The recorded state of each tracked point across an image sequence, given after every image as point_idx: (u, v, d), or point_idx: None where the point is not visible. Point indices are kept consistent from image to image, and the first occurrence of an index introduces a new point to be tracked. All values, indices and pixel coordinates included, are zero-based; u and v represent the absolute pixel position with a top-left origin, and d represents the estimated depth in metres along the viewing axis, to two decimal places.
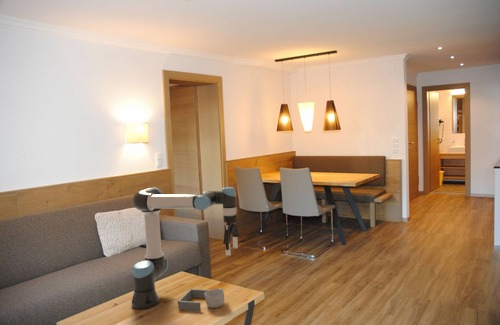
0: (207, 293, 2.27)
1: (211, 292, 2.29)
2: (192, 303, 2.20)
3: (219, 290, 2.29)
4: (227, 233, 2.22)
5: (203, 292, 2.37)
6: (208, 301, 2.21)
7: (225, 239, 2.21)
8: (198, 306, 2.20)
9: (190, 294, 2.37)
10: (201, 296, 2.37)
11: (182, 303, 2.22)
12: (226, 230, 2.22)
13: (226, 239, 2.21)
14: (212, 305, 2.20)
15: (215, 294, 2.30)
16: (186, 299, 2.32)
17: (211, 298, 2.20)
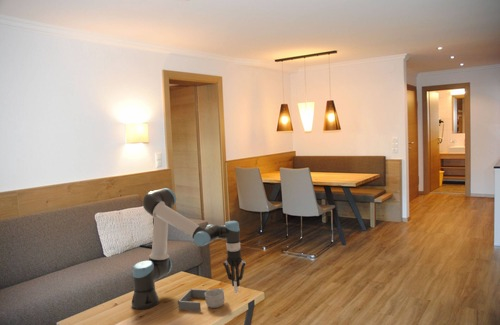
0: (207, 293, 2.27)
1: (211, 292, 2.29)
2: (192, 303, 2.20)
3: (219, 290, 2.29)
4: None
5: (203, 292, 2.37)
6: (208, 301, 2.21)
7: None
8: (198, 306, 2.20)
9: (190, 294, 2.37)
10: (201, 296, 2.37)
11: (182, 303, 2.22)
12: None
13: None
14: (212, 305, 2.20)
15: (215, 294, 2.30)
16: (186, 299, 2.32)
17: (211, 298, 2.20)
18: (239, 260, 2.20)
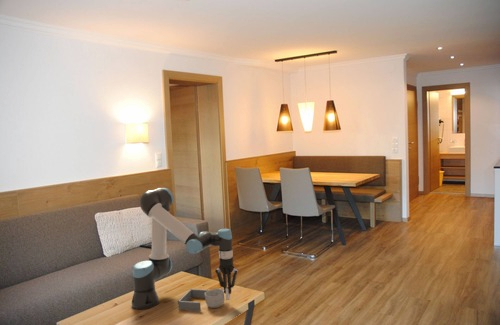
0: (207, 293, 2.27)
1: (211, 292, 2.29)
2: (192, 303, 2.20)
3: (219, 290, 2.29)
4: None
5: (203, 292, 2.37)
6: (208, 301, 2.21)
7: None
8: (198, 306, 2.20)
9: (190, 294, 2.37)
10: (201, 296, 2.37)
11: (182, 303, 2.22)
12: None
13: None
14: (212, 305, 2.20)
15: (215, 294, 2.30)
16: (186, 299, 2.32)
17: (211, 298, 2.20)
18: (231, 268, 2.21)
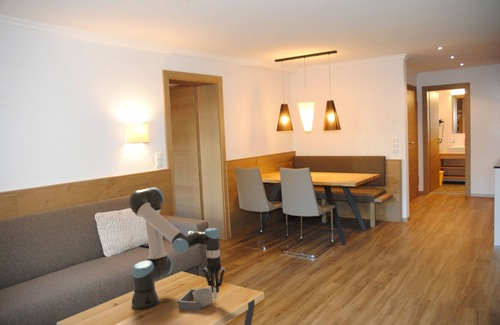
0: (196, 292, 2.29)
1: (200, 291, 2.31)
2: (192, 303, 2.20)
3: (208, 289, 2.31)
4: None
5: None
6: (196, 300, 2.23)
7: None
8: (198, 306, 2.20)
9: (190, 294, 2.37)
10: None
11: (182, 303, 2.22)
12: None
13: None
14: (200, 304, 2.22)
15: (204, 293, 2.32)
16: (186, 299, 2.32)
17: (199, 297, 2.22)
18: (218, 267, 2.23)
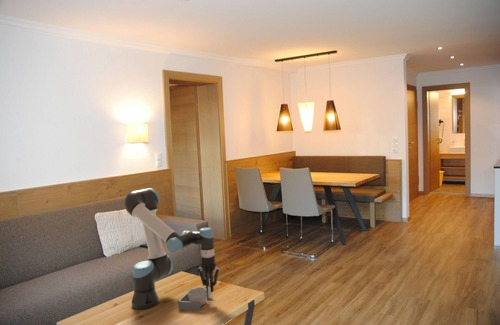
0: (190, 292, 2.30)
1: (195, 291, 2.32)
2: (192, 303, 2.20)
3: (202, 289, 2.31)
4: None
5: None
6: (190, 299, 2.24)
7: None
8: (198, 306, 2.20)
9: None
10: None
11: (182, 303, 2.22)
12: None
13: None
14: None
15: (199, 293, 2.32)
16: (186, 299, 2.32)
17: (193, 296, 2.22)
18: (213, 266, 2.24)
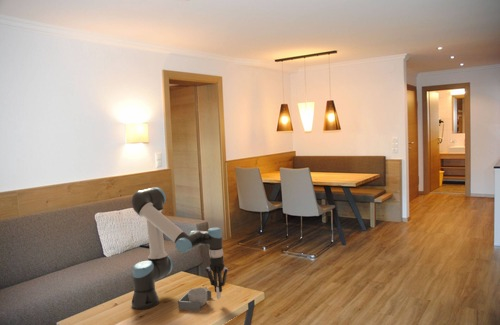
0: (191, 292, 2.30)
1: (195, 291, 2.32)
2: (192, 303, 2.20)
3: (203, 289, 2.31)
4: None
5: None
6: (191, 300, 2.24)
7: None
8: (198, 306, 2.20)
9: None
10: None
11: (182, 303, 2.22)
12: None
13: None
14: None
15: (199, 293, 2.32)
16: (186, 299, 2.32)
17: (193, 297, 2.22)
18: (221, 266, 2.22)
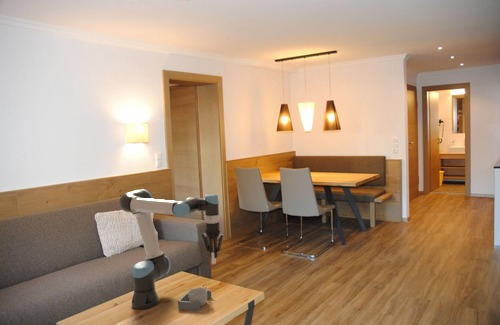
0: (191, 292, 2.30)
1: (195, 291, 2.32)
2: (192, 303, 2.20)
3: (203, 289, 2.31)
4: None
5: None
6: (191, 300, 2.24)
7: None
8: (198, 306, 2.20)
9: None
10: None
11: (182, 303, 2.22)
12: None
13: None
14: None
15: (199, 293, 2.32)
16: (186, 299, 2.32)
17: (193, 297, 2.22)
18: (217, 232, 2.25)
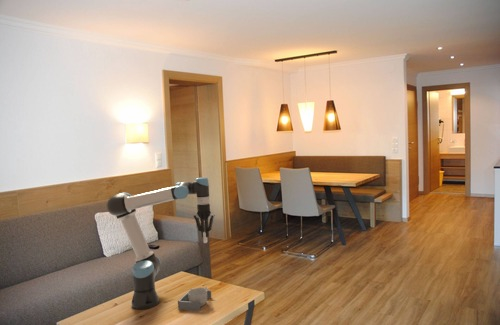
0: (191, 292, 2.30)
1: (195, 291, 2.32)
2: (192, 303, 2.20)
3: (203, 289, 2.31)
4: None
5: None
6: (191, 300, 2.24)
7: None
8: (198, 306, 2.20)
9: None
10: None
11: (182, 303, 2.22)
12: None
13: None
14: None
15: (199, 293, 2.32)
16: (186, 299, 2.32)
17: (193, 297, 2.22)
18: (208, 213, 2.40)
